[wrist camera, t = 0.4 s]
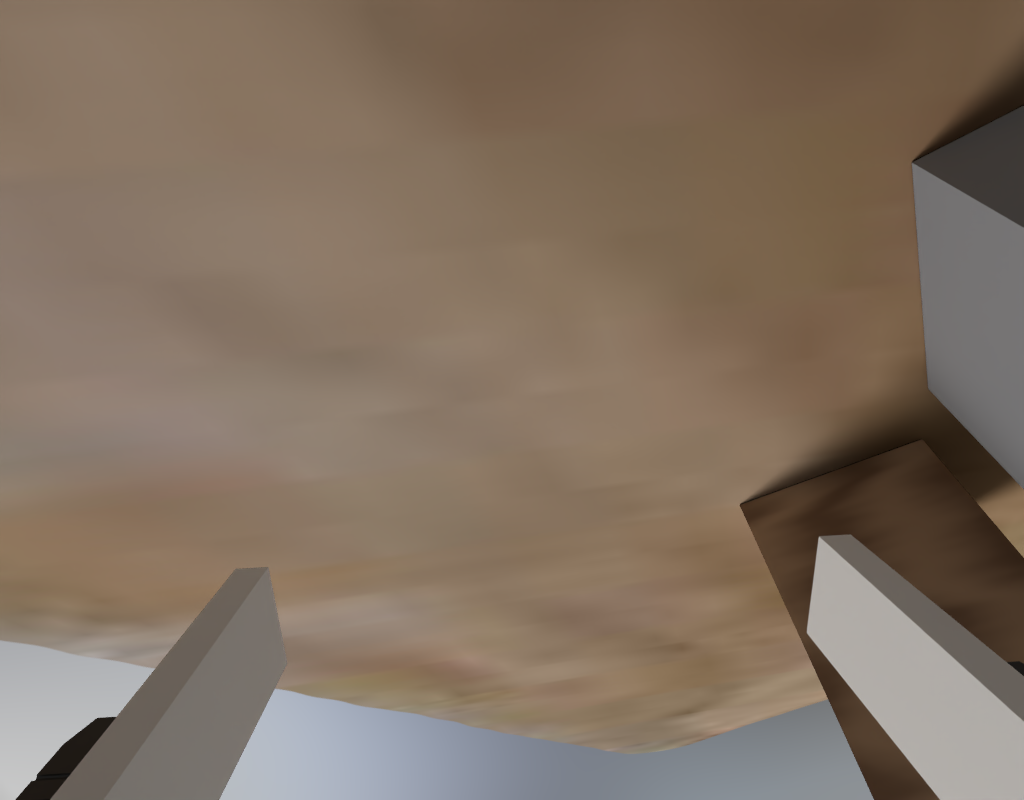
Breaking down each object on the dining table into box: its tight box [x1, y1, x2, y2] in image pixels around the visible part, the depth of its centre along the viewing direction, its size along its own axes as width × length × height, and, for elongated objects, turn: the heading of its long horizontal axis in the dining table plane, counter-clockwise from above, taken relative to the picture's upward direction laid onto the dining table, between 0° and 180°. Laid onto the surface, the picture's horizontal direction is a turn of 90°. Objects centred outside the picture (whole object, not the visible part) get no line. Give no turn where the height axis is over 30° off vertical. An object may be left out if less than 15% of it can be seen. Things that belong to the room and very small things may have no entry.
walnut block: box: [740, 439, 1024, 800], centre depth 30 cm, size 11×11×20 cm
